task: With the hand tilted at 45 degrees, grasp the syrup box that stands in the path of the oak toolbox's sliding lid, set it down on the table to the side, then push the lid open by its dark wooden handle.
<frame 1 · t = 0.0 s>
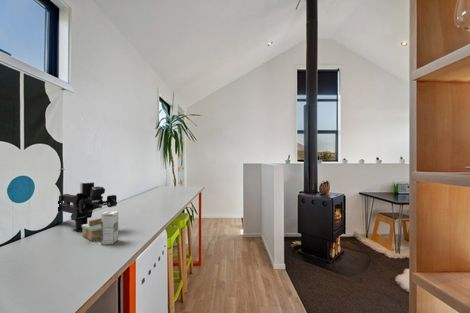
hand: (108, 204, 121), 17 cm above the counter, tool horizontal, fingers open, 9 cm apart
lid: (96, 223, 122), point 7 cm above the counter, slide at 0.0 cm
syrup box: (110, 242, 114), on the counter
toolbox: (96, 236, 122), on the counter
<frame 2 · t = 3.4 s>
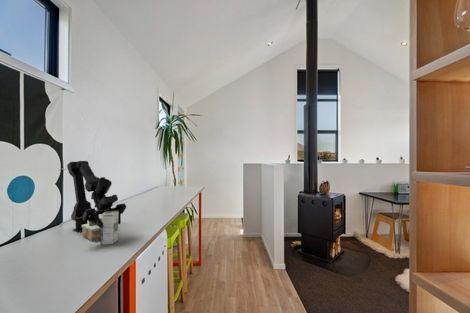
hand: (111, 225, 113), 8 cm above the counter, tool tilted 45°, fingers closed on syrup box, 8 cm apart
syrup box: (110, 242, 114), on the counter, touching gripper
everything else where it was.
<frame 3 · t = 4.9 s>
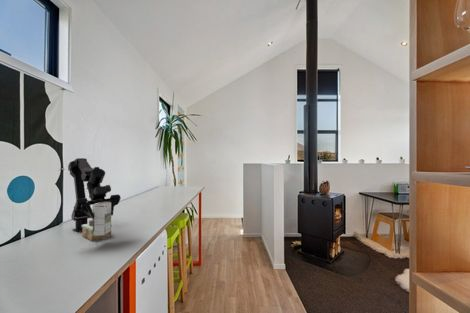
hand: (103, 216, 110), 13 cm above the counter, tool tilted 45°, fingers closed on syrup box, 8 cm apart
syrup box: (102, 234, 111), point 5 cm above the counter, touching gripper
everything else where it was.
when the fingers open (9 cm above the counter, at t = 6.8 s): syrup box drops 1 cm, on the counter.
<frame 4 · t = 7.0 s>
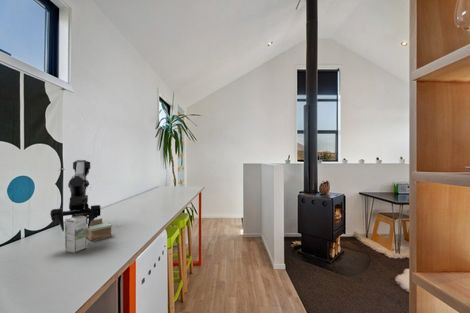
hand: (75, 229, 103), 10 cm above the counter, tool tilted 45°, fingers open, 9 cm apart
syrup box: (76, 250, 105), on the counter
everything else where it was.
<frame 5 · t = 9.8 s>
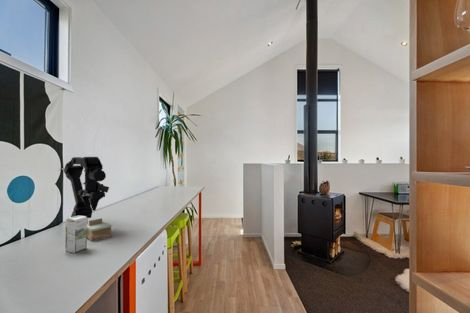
hand: (91, 209, 126), 13 cm above the counter, tool pointing down, fingers open, 7 cm apart
nothing on the counter moved.
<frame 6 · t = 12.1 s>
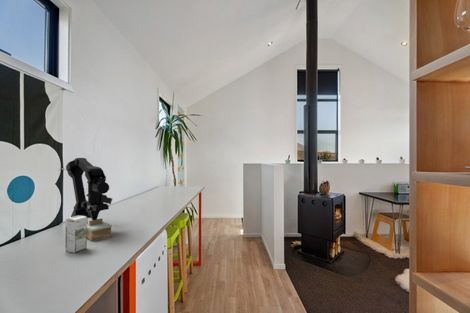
hand: (94, 222, 124), 7 cm above the counter, tool pointing down, fingers closed
lid: (96, 223, 122), point 7 cm above the counter, slide at 0.3 cm, touching gripper
everything else where it was.
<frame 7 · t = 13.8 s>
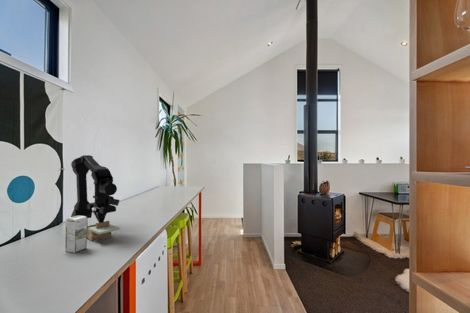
hand: (101, 224, 119), 7 cm above the counter, tool pointing down, fingers closed
lid: (103, 226, 118), point 7 cm above the counter, slide at 7.9 cm, touching gripper
everything else where it was.
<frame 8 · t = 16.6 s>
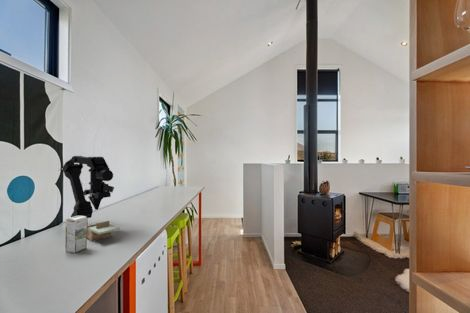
hand: (96, 209, 126), 13 cm above the counter, tool pointing down, fingers closed
lid: (103, 226, 118), point 7 cm above the counter, slide at 8.0 cm
everything else where it was.
at the end: lid slide at 8.0 cm; syrup box inside the target area (0.6 cm from its centre), on the counter; syrup box tilted 0° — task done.
